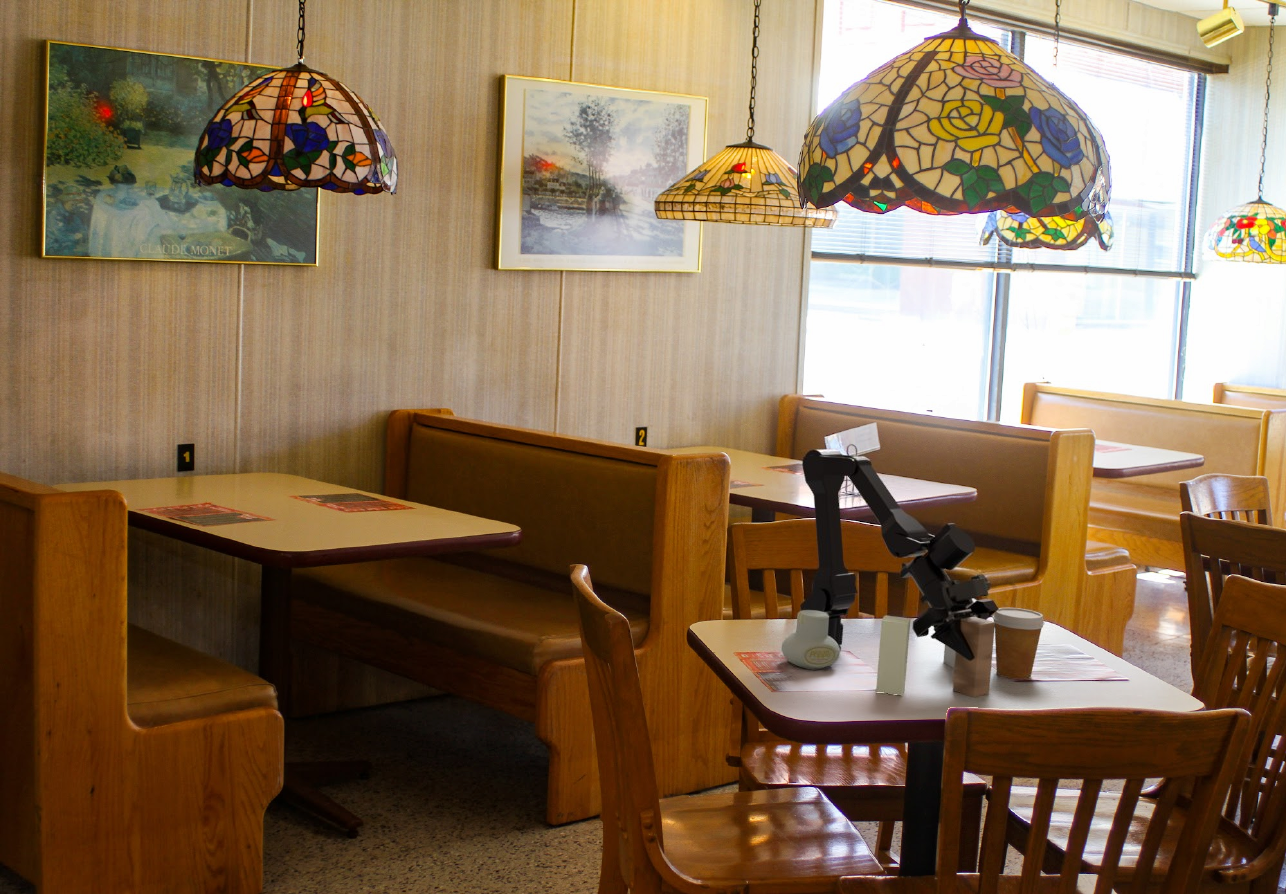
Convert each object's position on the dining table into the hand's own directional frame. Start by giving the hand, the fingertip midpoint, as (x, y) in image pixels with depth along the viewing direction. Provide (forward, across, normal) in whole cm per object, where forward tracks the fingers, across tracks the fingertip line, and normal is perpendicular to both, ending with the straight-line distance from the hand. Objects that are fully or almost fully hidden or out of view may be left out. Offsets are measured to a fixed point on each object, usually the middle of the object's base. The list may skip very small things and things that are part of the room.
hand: (980, 657), depth 225 cm
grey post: (-5, +13, +14) cm, 20 cm away
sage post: (-2, -13, +11) cm, 17 cm away
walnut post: (+4, 0, +6) cm, 7 cm away
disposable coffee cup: (+2, +18, +8) cm, 19 cm away
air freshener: (-15, -13, +25) cm, 32 cm away
